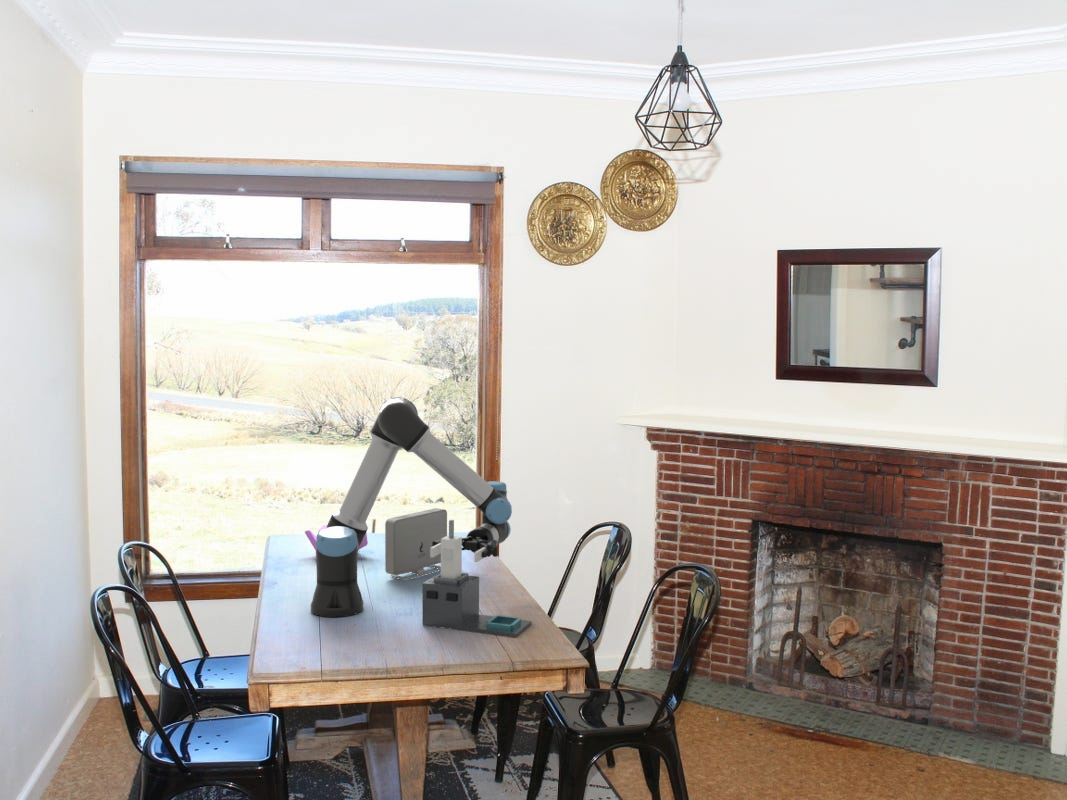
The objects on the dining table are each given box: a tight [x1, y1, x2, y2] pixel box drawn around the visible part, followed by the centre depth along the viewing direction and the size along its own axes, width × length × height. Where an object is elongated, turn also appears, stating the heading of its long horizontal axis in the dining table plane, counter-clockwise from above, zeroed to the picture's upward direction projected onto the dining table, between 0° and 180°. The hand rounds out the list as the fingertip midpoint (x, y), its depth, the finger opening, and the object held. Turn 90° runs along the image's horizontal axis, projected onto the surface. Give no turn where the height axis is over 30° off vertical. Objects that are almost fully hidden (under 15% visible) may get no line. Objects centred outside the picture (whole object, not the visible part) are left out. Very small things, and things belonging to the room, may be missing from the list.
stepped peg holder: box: [421, 572, 532, 638], centre depth 277 cm, size 13×28×13 cm, turn 70°
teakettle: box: [304, 524, 369, 558], centre depth 353 cm, size 17×17×12 cm
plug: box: [440, 519, 463, 579], centre depth 278 cm, size 5×4×17 cm
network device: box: [384, 507, 448, 580], centre depth 331 cm, size 26×9×20 cm, turn 143°
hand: (453, 555), depth 279 cm, fingers open, 13 cm apart
